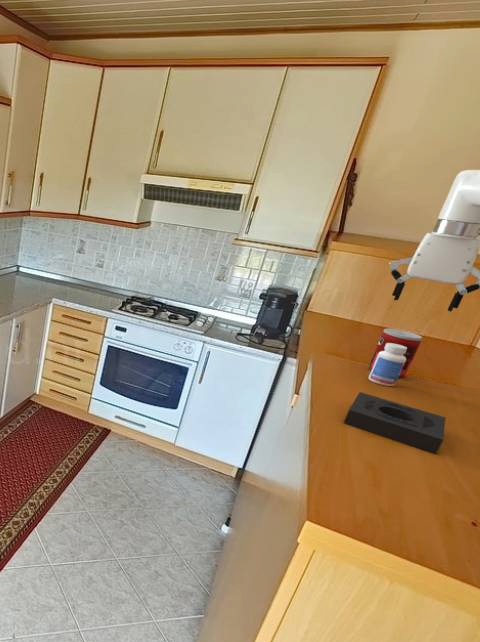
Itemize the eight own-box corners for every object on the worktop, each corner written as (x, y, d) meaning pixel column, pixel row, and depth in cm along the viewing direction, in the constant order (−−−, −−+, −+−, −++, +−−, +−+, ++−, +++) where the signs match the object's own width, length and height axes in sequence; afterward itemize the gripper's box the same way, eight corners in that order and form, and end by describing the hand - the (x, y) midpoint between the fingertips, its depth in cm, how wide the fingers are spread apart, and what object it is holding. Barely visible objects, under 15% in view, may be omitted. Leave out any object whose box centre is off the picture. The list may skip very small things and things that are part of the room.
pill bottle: (398, 388, 118) (415, 351, 115) (372, 383, 120) (388, 346, 116) (389, 380, 123) (405, 344, 120) (364, 376, 125) (379, 340, 121)
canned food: (383, 366, 134) (400, 328, 130) (412, 378, 126) (431, 338, 122) (360, 365, 132) (376, 327, 128) (388, 378, 125) (406, 337, 121)
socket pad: (354, 404, 107) (359, 391, 106) (438, 430, 98) (445, 417, 97) (343, 422, 97) (349, 409, 96) (436, 454, 88) (443, 439, 87)
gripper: (510, 236, 104) (472, 312, 110) (407, 223, 115) (378, 293, 121) (512, 237, 99) (472, 317, 105) (404, 224, 110) (374, 297, 116)
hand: (422, 304), depth 113 cm, fingers open, 9 cm apart
